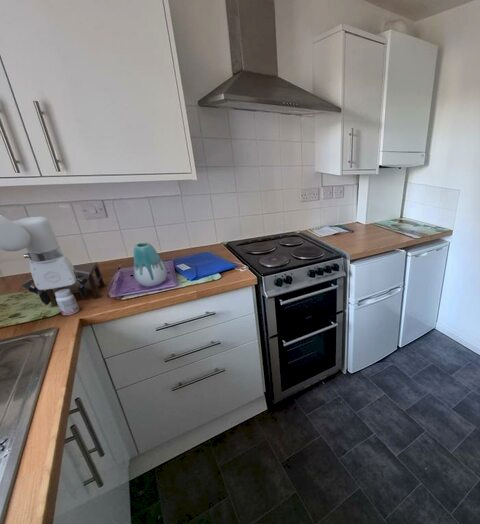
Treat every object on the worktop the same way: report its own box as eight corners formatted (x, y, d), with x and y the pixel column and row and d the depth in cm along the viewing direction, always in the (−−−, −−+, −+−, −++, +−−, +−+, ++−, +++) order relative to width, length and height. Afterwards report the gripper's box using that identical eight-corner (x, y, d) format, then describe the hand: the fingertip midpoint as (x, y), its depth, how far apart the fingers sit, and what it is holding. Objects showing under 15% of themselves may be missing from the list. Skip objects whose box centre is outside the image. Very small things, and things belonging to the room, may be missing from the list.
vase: (173, 283, 128) (162, 243, 121) (141, 292, 120) (128, 251, 113) (164, 274, 135) (154, 237, 128) (134, 283, 128) (122, 243, 121)
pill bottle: (61, 312, 107) (51, 291, 104) (78, 307, 110) (69, 286, 107) (63, 317, 104) (54, 296, 101) (81, 311, 107) (72, 290, 104)
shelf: (52, 306, 110) (40, 280, 106) (62, 292, 120) (51, 268, 116) (99, 297, 117) (90, 272, 112) (105, 284, 126) (96, 261, 122)
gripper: (5, 263, 92) (29, 311, 98) (77, 253, 99) (95, 298, 106) (15, 255, 98) (37, 300, 104) (82, 246, 105) (99, 289, 112)
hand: (66, 299), depth 105 cm, fingers open, 9 cm apart
